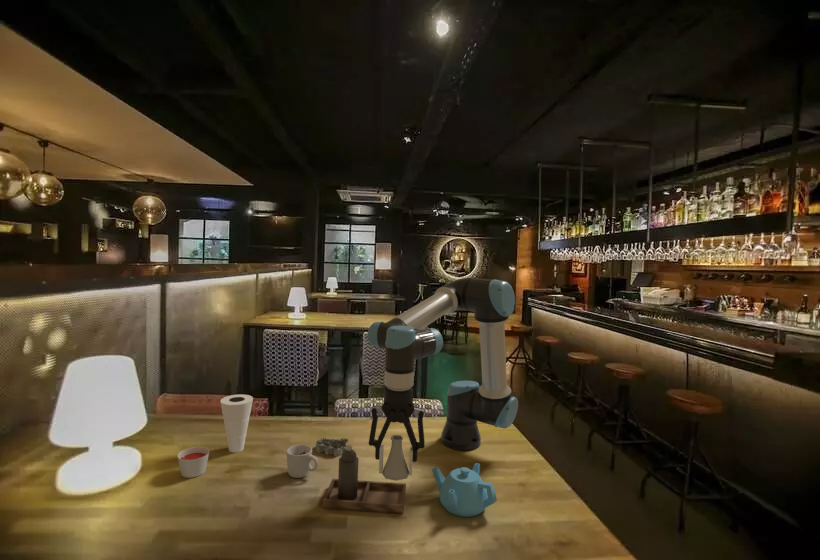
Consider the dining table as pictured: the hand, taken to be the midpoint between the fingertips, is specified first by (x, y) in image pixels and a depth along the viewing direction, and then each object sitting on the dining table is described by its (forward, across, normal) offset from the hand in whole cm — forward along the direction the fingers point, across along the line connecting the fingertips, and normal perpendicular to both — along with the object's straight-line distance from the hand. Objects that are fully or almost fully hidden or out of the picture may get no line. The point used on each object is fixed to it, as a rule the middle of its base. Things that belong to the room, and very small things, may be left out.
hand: (395, 471), depth 115 cm
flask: (+1, 0, 0) cm, 1 cm away
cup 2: (+15, +59, -36) cm, 71 cm away
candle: (+15, +65, -19) cm, 69 cm away
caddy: (+15, +9, -11) cm, 20 cm away
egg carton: (+15, +26, -40) cm, 50 cm away
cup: (+15, +31, -22) cm, 41 cm away
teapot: (+15, -19, -12) cm, 27 cm away
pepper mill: (+14, +14, -11) cm, 23 cm away
